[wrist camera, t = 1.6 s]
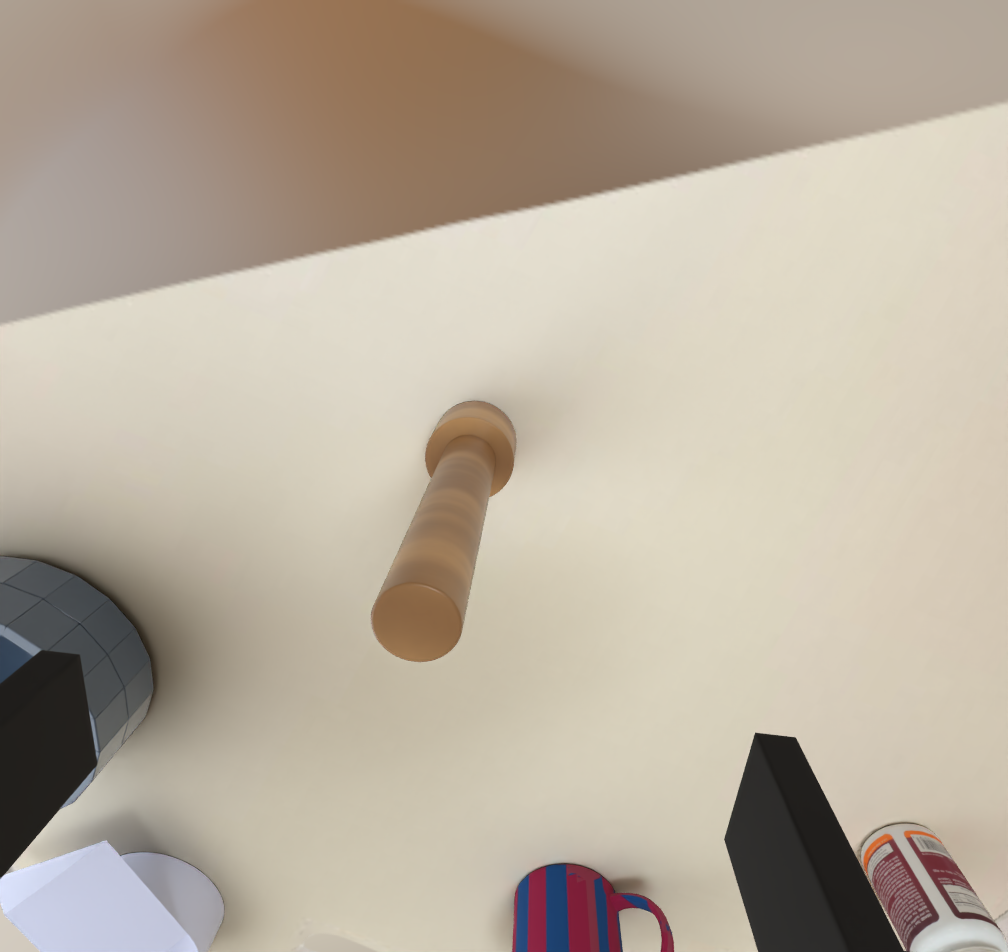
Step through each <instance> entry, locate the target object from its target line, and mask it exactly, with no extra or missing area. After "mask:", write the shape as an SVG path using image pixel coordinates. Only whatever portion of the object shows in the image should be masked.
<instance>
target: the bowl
mask: <svg viewBox="0 0 1008 952" xmlns="http://www.w3.org/2000/svg"><path fill="white" fill-rule="evenodd" d="M41 650H46V651H55V652H63V653H72V654H80V658H81V664H82V671H83V677H84V683H85V689H86V695H87V701H88V707H89V714H90V720H91V726H92V732H93V738H94V744H95V750H96V757H97V763H98V765H97V766H96V767H95V768H94V769H93V771H92V772H91V773H90V774H89V775H88V776H87V778H86V779H85V780H84V781H83V782H82V783H81V785H80V786H79V787H78V788H77V789H76V791H75V792H74V793H73V794H72V795H71V796H70V798H69V799H68V800H67V801H66V802H65V803H64V805H63V806H62V807H61V808H63V807H65V806H68V805H70V804H72V803H73V802H75V801H76V800H77V798H78V797H79V796H80V795H81V794H82V793H83V791H84V790H85V789H86V788H87V787H88V786H89V785H90V783H91V782H92V781H93V780H94V779H95V778H96V776H97V775H98V774H99V773H100V771H101V770H102V769H103V768H104V767H105V765H106V764H107V763H108V762H109V761H110V759H111V758H112V757H113V756H114V754H115V753H116V752H117V751H118V750H119V748H120V747H121V746H122V745H123V744H124V742H125V741H126V740H127V739H128V738H129V736H130V735H131V734H132V733H133V731H134V730H135V729H136V728H137V727H138V725H139V724H140V723H141V722H142V721H143V719H144V718H145V717H146V714H147V711H148V707H149V704H150V700H151V697H152V694H153V689H154V687H153V678H152V670H151V661H150V657H149V655H148V653H147V651H146V649H145V647H144V645H143V643H142V641H141V638H140V636H139V634H138V632H137V630H136V628H135V627H134V626H133V625H132V623H131V622H130V621H129V620H128V619H127V618H126V617H125V615H124V614H123V613H122V612H121V611H120V610H119V609H118V607H117V606H116V605H115V604H114V603H113V602H112V601H111V600H110V599H109V598H108V597H107V596H105V595H104V594H102V593H101V592H100V591H98V590H97V589H95V588H94V587H92V586H91V585H90V584H88V583H87V582H85V581H84V580H82V579H81V578H79V577H78V576H75V575H74V574H71V573H69V572H66V571H64V570H61V569H58V568H56V567H53V566H51V565H48V564H46V563H43V562H40V561H37V560H30V559H22V558H13V557H5V556H0V683H2V682H3V681H4V680H5V679H6V678H8V677H9V676H10V675H11V674H13V673H14V672H15V671H16V670H17V669H19V668H20V667H21V666H22V665H24V664H25V663H26V662H27V661H28V660H30V659H31V658H32V657H33V656H35V655H36V654H37V653H38V652H39V651H41ZM61 808H60V809H61Z"/></svg>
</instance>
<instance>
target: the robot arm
mask: <svg viewBox="0 0 1008 952" xmlns="http://www.w3.org/2000/svg"><path fill="white" fill-rule="evenodd" d="M97 765H98V763H97V757H96V750H95V744H94V738H93V732H92V726H91V720H90V714H89V707H88V701H87V695H86V689H85V683H84V677H83V671H82V664H81V658H80V654H72V653H63V652H55V651H46V650H41V651H39V652H38V653H37V654H36V655H35V656H33V657H32V658H31V659H30V660H28V661H27V662H26V663H25V664H24V665H22V666H21V667H20V668H19V669H17V670H16V671H15V672H14V673H13V674H11V675H10V676H9V677H8V678H6V679H5V680H4V681H3V682H2V683H0V879H1V878H2V877H3V875H4V874H5V873H6V872H7V871H8V869H9V868H10V867H11V866H12V865H13V864H14V862H15V861H16V860H17V859H18V858H19V857H20V855H21V854H22V853H23V852H24V851H25V849H26V848H27V847H28V846H29V845H30V844H31V842H32V841H33V840H34V839H35V838H36V836H37V835H38V834H39V833H40V832H41V831H42V829H43V828H44V827H45V826H46V825H47V824H48V822H49V821H50V820H51V819H52V818H53V816H54V815H55V814H56V813H57V812H58V811H59V809H60V808H61V807H62V806H63V805H64V803H65V802H66V801H67V800H68V799H69V798H70V796H71V795H72V794H73V793H74V792H75V791H76V789H77V788H78V787H79V786H80V785H81V783H82V782H83V781H84V780H85V779H86V778H87V776H88V775H89V774H90V773H91V772H92V771H93V769H94V768H95V767H96V766H97ZM724 840H725V843H726V846H727V850H728V853H729V856H730V860H731V863H732V866H733V870H734V873H735V876H736V880H737V883H738V886H739V890H740V893H741V896H742V899H743V903H744V906H745V909H746V913H747V916H748V919H749V923H750V926H751V929H752V933H753V936H754V939H755V942H756V946H757V949H758V952H908V951H904V950H903V948H902V947H901V945H900V943H899V941H898V939H897V937H896V935H895V933H894V931H893V929H892V927H891V925H890V923H889V921H888V919H887V917H886V915H885V913H884V911H883V909H882V907H881V905H880V903H879V901H878V899H877V897H876V895H875V893H874V891H873V889H872V887H871V885H870V883H869V881H868V879H867V877H866V875H865V874H864V872H863V870H862V868H861V866H860V864H859V862H858V860H857V858H856V856H855V854H854V852H853V850H852V848H851V846H850V844H849V842H848V840H847V838H846V836H845V834H844V832H843V830H842V828H841V826H840V824H839V822H838V820H837V818H836V816H835V814H834V812H833V810H832V808H831V806H830V804H829V802H828V801H827V799H826V797H825V795H824V793H823V791H822V789H821V787H820V785H819V783H818V781H817V779H816V777H815V775H814V773H813V771H812V769H811V767H810V765H809V763H808V761H807V759H806V757H805V755H804V753H803V751H802V749H801V747H800V745H799V743H798V741H797V739H796V738H795V737H787V736H778V735H770V734H761V733H755V735H754V739H753V742H752V746H751V749H750V753H749V756H748V759H747V763H746V766H745V770H744V773H743V777H742V780H741V784H740V787H739V790H738V794H737V797H736V801H735V804H734V808H733V811H732V815H731V818H730V821H729V825H728V828H727V832H726V835H725V839H724Z"/></svg>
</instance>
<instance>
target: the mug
mask: <svg viewBox="0 0 1008 952" xmlns="http://www.w3.org/2000/svg"><path fill="white" fill-rule="evenodd" d="M627 908H640V909H643V910H646V911H649V912H651V913H653V914H654V915H655V916H656V918H657V920H658V922H659V925H660V929H661V936H662V945H661V952H674V942H673V937H672V932H671V929H670V926H669V924H668V921H667V919H666V917H665V915H664V913H663V912H662V910H661V909H660V908H659V907H658V906H657V905H656V904H655V903H654V902H652V901H651V900H650V899H648V898H646V897H644V896H642V895H638V894H633V893H615V891H614V889H613V887H612V886H611V884H610V883H609V882H608V881H607V880H606V879H605V878H604V877H602V876H601V875H600V874H598V873H596V872H595V871H593V870H591V869H588V868H585V867H582V866H578V865H571V864H556V865H549V866H546V867H542V868H540V869H537V870H535V871H533V872H532V873H530V874H529V875H527V876H526V877H525V878H524V879H523V880H522V881H521V883H520V884H519V886H518V887H517V890H516V893H515V900H514V924H513V948H512V952H623V949H622V940H621V931H620V922H619V911H621V910H623V909H627Z"/></svg>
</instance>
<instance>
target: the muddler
mask: <svg viewBox="0 0 1008 952" xmlns="http://www.w3.org/2000/svg"><path fill="white" fill-rule="evenodd" d="M515 450H516V434H515V430H514V427H513V425H512V423H511V421H510V420H509V418H508V417H507V416H506V415H505V414H504V412H502V411H501V410H500V409H498V408H497V407H495V406H493V405H491V404H489V403H485V402H480V401H468V402H463V403H460V404H458V405H456V406H454V407H452V408H451V409H449V410H448V411H447V412H446V413H445V414H444V415H443V417H442V418H441V420H440V421H439V423H438V425H437V427H436V428H435V430H434V432H433V434H432V436H431V437H430V439H429V442H428V444H427V447H426V453H425V462H426V467H427V471H428V473H429V476H430V477H431V480H430V483H429V485H428V487H427V489H426V491H425V494H424V496H423V498H422V500H421V502H420V505H419V507H418V509H417V511H416V513H415V516H414V518H413V520H412V522H411V524H410V526H409V529H408V531H407V533H406V535H405V537H404V540H403V542H402V544H401V546H400V548H399V551H398V553H397V555H396V557H395V559H394V562H393V564H392V566H391V568H390V570H389V572H388V575H387V577H386V579H385V581H384V583H383V586H382V588H381V590H380V592H379V594H378V597H377V599H376V601H375V603H374V605H373V608H372V612H371V624H372V629H373V632H374V634H375V636H376V638H377V640H378V641H379V643H380V644H381V645H382V646H383V647H384V648H385V649H386V650H387V651H389V652H390V653H392V654H393V655H395V656H397V657H399V658H402V659H405V660H408V661H415V662H426V661H431V660H435V659H438V658H440V657H442V656H444V655H446V654H447V653H448V652H449V651H451V650H452V649H453V648H454V647H455V645H456V644H457V643H458V641H459V639H460V636H461V633H462V628H463V623H464V619H465V614H466V609H467V604H468V599H469V594H470V589H471V584H472V579H473V574H474V569H475V564H476V559H477V554H478V549H479V545H480V540H481V535H482V530H483V525H484V520H485V515H486V510H487V505H488V500H489V497H491V496H493V495H495V494H496V493H498V492H499V491H500V490H501V489H502V488H503V487H504V486H505V485H506V483H507V482H508V480H509V478H510V476H511V474H512V471H513V466H514V458H515Z"/></svg>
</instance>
